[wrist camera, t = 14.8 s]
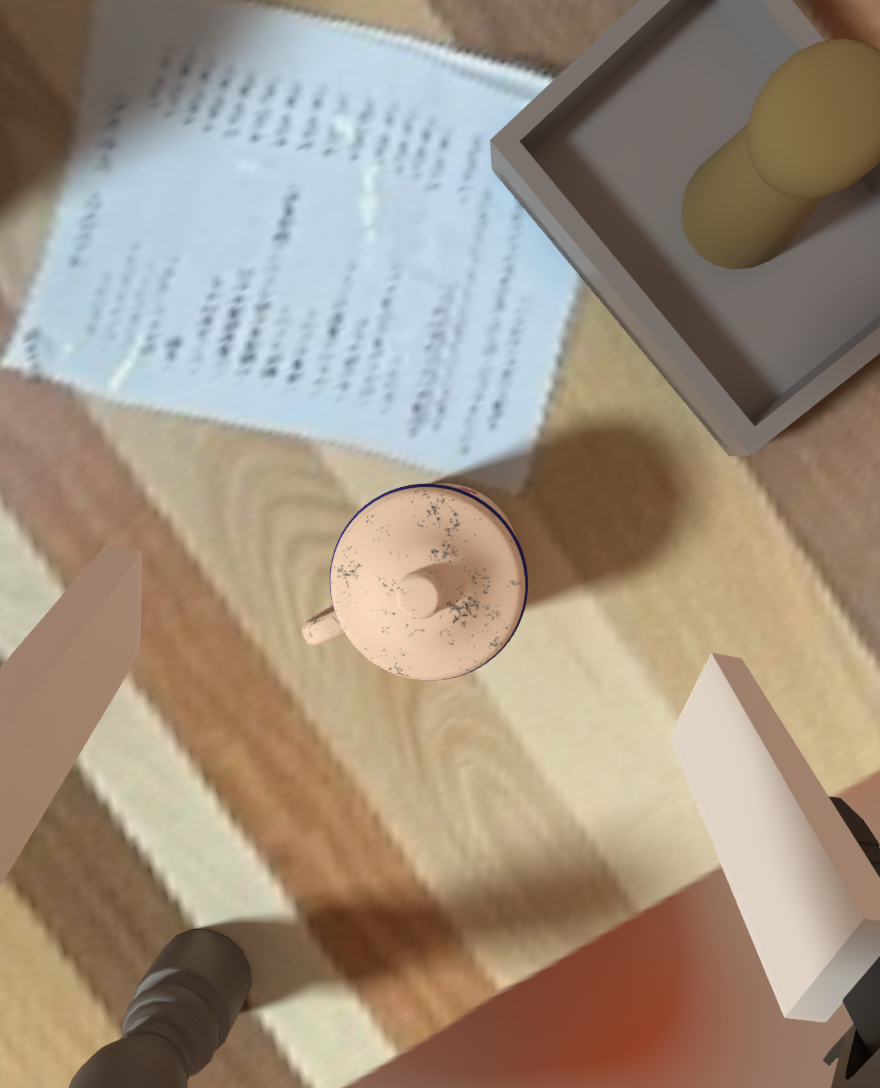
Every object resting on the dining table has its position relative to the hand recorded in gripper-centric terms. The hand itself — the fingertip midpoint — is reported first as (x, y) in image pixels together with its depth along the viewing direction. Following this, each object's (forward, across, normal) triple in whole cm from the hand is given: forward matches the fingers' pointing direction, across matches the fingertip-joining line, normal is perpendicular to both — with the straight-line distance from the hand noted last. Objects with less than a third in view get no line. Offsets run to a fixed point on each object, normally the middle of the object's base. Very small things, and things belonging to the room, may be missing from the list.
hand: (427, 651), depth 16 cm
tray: (+27, +13, +10) cm, 32 cm away
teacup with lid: (+22, +2, -11) cm, 25 cm away
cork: (+26, +14, +11) cm, 32 cm away
